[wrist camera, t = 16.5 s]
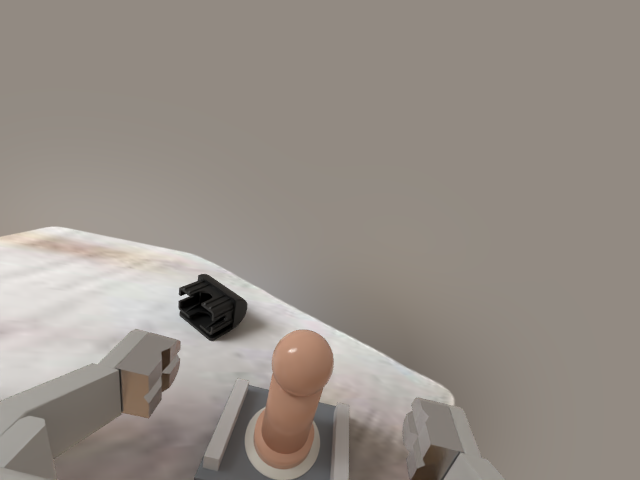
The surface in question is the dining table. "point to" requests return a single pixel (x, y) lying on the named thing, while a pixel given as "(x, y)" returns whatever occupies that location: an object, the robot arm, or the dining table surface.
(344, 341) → the dining table surface
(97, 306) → the dining table surface
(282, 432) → the ball-topped peg
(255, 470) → the display plinth
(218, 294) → the end cap
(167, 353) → the robot arm
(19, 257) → the dining table surface
